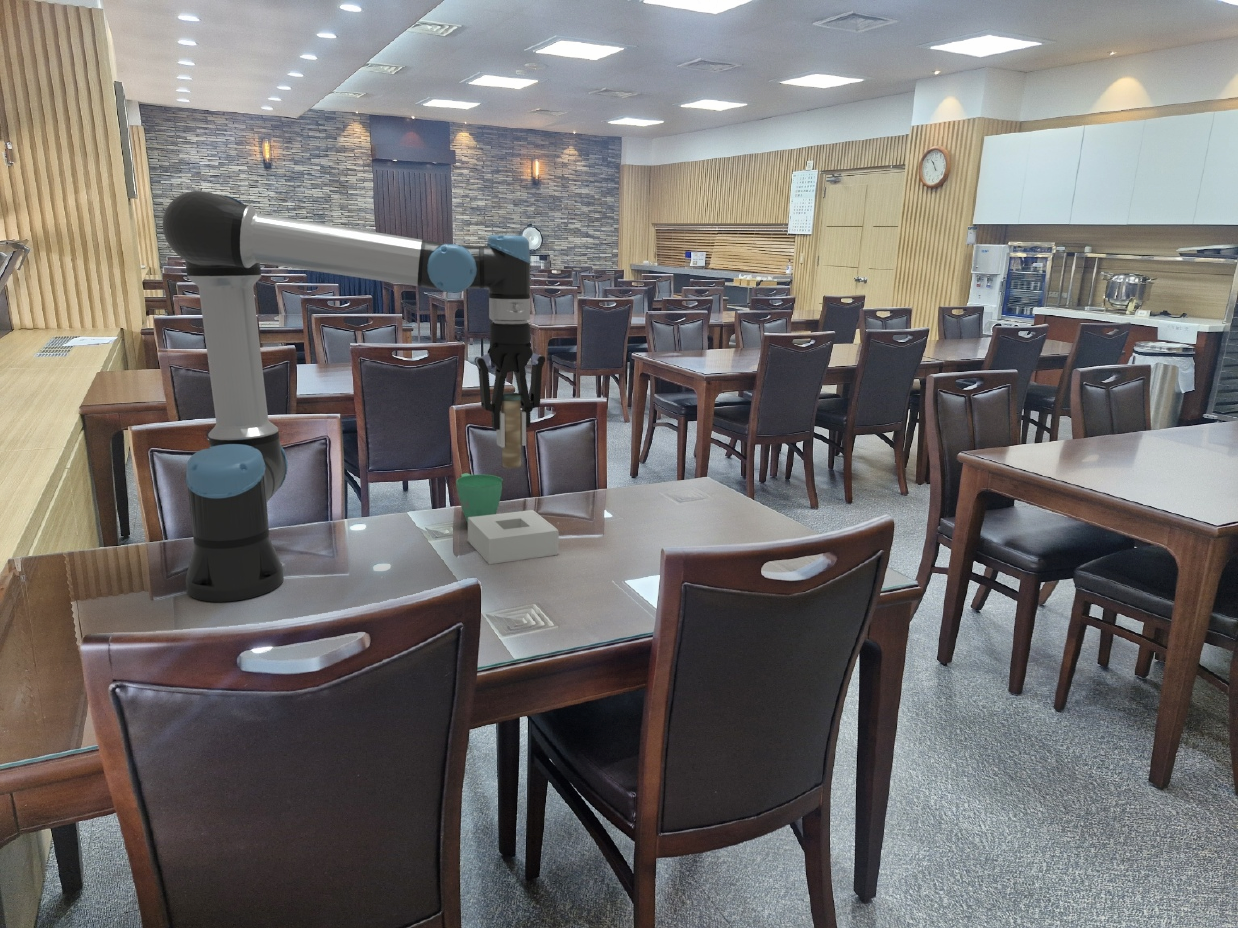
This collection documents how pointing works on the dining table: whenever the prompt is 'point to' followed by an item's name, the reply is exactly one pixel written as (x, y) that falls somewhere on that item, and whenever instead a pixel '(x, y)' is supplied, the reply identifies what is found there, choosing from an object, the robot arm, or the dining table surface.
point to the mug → (479, 494)
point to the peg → (512, 430)
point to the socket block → (512, 536)
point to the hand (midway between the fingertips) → (511, 444)
